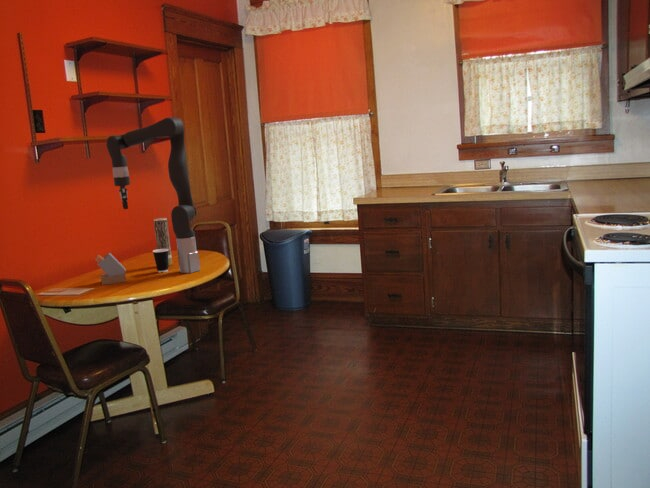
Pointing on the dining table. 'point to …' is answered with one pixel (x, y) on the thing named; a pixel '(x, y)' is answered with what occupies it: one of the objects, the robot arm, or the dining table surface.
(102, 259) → the dowel
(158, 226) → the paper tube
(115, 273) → the socket
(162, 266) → the dixie cup
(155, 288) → the dining table surface
